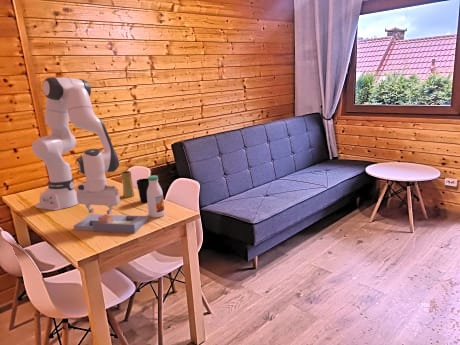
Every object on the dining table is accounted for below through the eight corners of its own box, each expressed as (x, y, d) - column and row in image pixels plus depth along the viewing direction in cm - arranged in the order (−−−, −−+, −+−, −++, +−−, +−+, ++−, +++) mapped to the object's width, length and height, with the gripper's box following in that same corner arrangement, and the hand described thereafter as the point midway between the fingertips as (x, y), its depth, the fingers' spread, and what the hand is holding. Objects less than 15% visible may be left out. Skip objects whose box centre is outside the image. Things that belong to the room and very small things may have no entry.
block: (99, 225, 163) (98, 217, 162) (105, 221, 167) (104, 214, 166) (107, 225, 162) (106, 218, 161) (113, 221, 166) (112, 214, 165)
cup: (149, 203, 193) (147, 182, 190) (136, 203, 195) (133, 182, 191) (155, 199, 200) (153, 178, 197) (142, 198, 202) (140, 178, 199)
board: (73, 230, 163) (71, 222, 162) (91, 217, 177) (89, 210, 176) (134, 233, 157) (133, 224, 156) (148, 219, 171) (147, 212, 170)
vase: (124, 194, 210) (121, 171, 207) (135, 193, 211) (132, 170, 207) (122, 197, 205) (119, 173, 201) (133, 197, 205) (130, 173, 201)
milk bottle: (151, 219, 172) (147, 179, 167) (147, 214, 179) (142, 175, 173) (166, 216, 175) (163, 176, 170) (162, 211, 182) (158, 173, 177)
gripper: (121, 183, 164) (124, 212, 168) (81, 182, 169) (85, 209, 172) (114, 188, 158) (117, 217, 162) (72, 186, 163) (77, 214, 166)
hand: (100, 213), depth 167 cm, fingers open, 8 cm apart
